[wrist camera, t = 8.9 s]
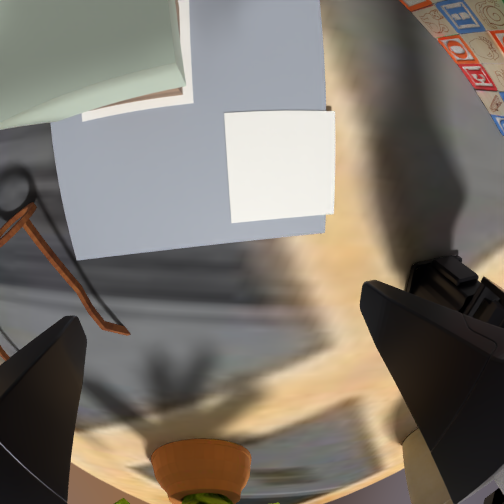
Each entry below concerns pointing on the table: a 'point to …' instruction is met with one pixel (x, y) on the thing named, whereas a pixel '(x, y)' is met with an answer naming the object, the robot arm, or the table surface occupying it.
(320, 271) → the table surface
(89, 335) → the table surface
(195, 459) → the decorative plant
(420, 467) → the plant pot
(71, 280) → the glasses
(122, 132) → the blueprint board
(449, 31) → the stack of blocks
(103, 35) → the sage block
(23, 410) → the robot arm
